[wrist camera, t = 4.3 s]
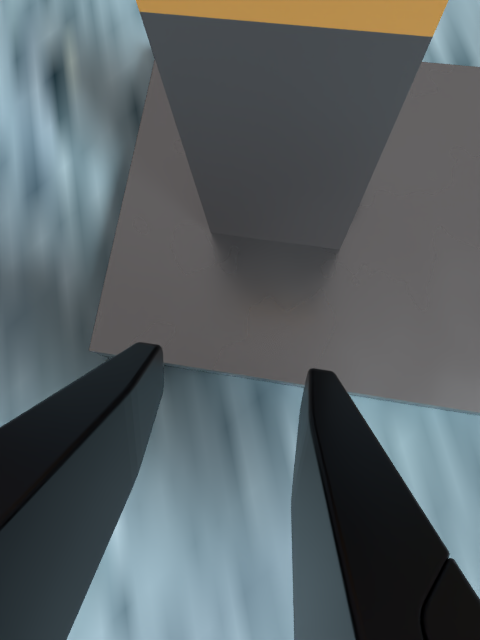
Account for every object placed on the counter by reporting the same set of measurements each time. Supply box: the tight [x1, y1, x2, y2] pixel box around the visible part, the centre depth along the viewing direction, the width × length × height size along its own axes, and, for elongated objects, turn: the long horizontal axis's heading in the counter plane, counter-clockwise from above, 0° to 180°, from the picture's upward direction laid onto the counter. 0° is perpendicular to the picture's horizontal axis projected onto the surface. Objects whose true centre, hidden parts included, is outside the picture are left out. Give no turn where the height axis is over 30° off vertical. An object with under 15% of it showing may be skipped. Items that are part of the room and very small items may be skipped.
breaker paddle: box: [136, 0, 448, 250], centre depth 9 cm, size 2×4×10 cm, turn 80°
